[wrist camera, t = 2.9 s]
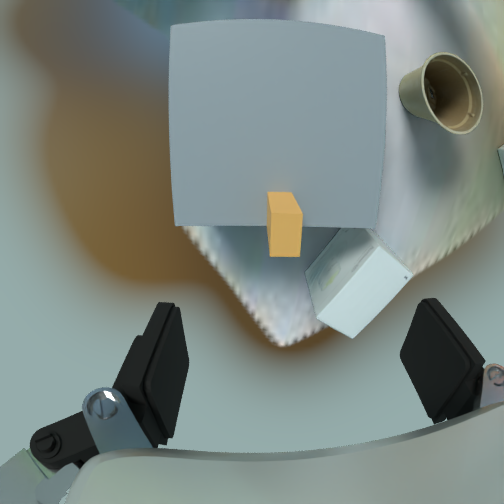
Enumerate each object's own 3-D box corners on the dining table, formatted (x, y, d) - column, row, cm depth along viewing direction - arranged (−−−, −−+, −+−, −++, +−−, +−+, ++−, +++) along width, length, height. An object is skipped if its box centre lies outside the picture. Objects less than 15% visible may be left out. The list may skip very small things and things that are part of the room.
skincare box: (349, 212, 35) (380, 244, 26) (381, 238, 37) (416, 275, 27) (301, 272, 39) (314, 319, 29) (335, 293, 40) (354, 341, 31)
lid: (381, 38, 18) (417, 17, 11) (372, 225, 25) (403, 257, 19) (173, 28, 18) (146, 0, 12) (177, 222, 25) (153, 255, 19)
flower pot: (413, 142, 31) (451, 150, 23) (373, 82, 28) (405, 73, 20) (453, 109, 28) (493, 111, 20) (418, 51, 25) (454, 40, 17)
